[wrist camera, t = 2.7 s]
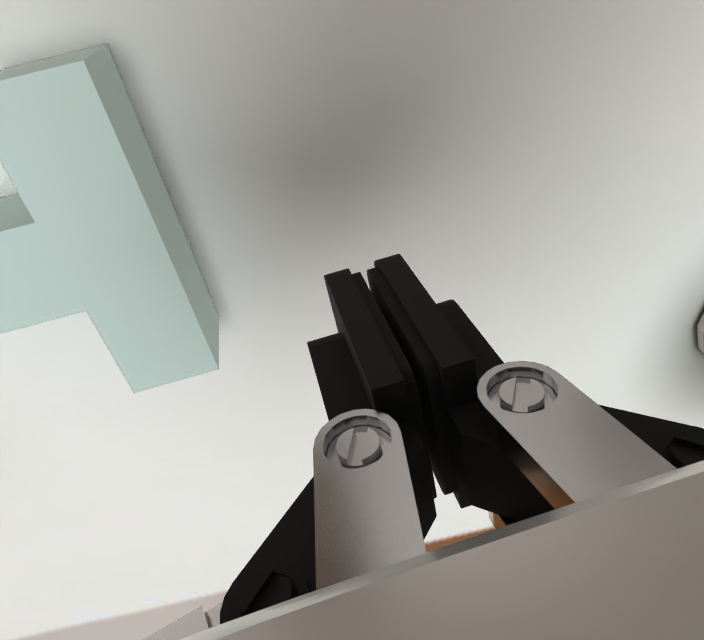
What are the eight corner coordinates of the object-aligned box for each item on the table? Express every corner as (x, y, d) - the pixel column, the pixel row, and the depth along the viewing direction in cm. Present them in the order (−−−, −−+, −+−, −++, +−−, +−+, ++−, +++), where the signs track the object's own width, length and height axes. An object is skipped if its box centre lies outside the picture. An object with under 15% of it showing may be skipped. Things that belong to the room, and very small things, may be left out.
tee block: (-240, 127, 16) (-345, 164, 13) (107, 43, 16) (83, 60, 13) (-33, 385, 21) (-72, 451, 18) (218, 315, 22) (218, 369, 19)
